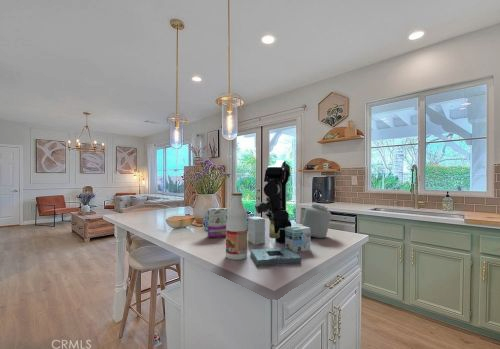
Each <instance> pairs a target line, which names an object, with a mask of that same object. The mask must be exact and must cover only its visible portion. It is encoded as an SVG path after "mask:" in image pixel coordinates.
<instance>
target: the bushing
mask: <svg viewBox="0 0 500 349" xmlns="http://www.w3.org/2000/svg"><path fill="white" fill-rule="evenodd" d="M268 220H269V219H268ZM268 223H269V224H268V227H269V230H268V231H269V233H268V234H269V235H268V237H269V238H270V239H275V238H280V229H279V231H278V233H275V231H274V224H273V220H269V222H268Z"/></svg>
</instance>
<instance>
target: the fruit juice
mask: <svg viewBox="0 0 500 349" xmlns="http://www.w3.org/2000/svg"><path fill="white" fill-rule="evenodd" d="M243 195H244V194H243V192H238V191H237V192H231V196H230V197H231V203H230V205H229V206H228V207H227V212H226V215H227V223H226V237H225V257H226V258H227V259H228V260H235V261H239V260H244V259H246V258H247V256H248V221H247V217H248V216H247V215H248V210H247V209H246V207H245V206H244V203H243V200H242V199H243Z"/></svg>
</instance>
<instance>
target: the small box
mask: <svg viewBox="0 0 500 349" xmlns="http://www.w3.org/2000/svg"><path fill="white" fill-rule="evenodd" d="M247 217H248V218H247V219H248V220H247V242H250V243H252V244H253V245H261V244H265V243H266V219H265V218H263V217H261V216H247Z"/></svg>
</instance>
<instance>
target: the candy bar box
mask: <svg viewBox="0 0 500 349" xmlns="http://www.w3.org/2000/svg"><path fill="white" fill-rule="evenodd" d="M227 209H228V207H227V208H226V207H216V208H213V207H212V208H211V207H210V208H207V238H208V239H211V238H212V239H214V238H215V239H216V238H226V223H227V215H226V212H227Z"/></svg>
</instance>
